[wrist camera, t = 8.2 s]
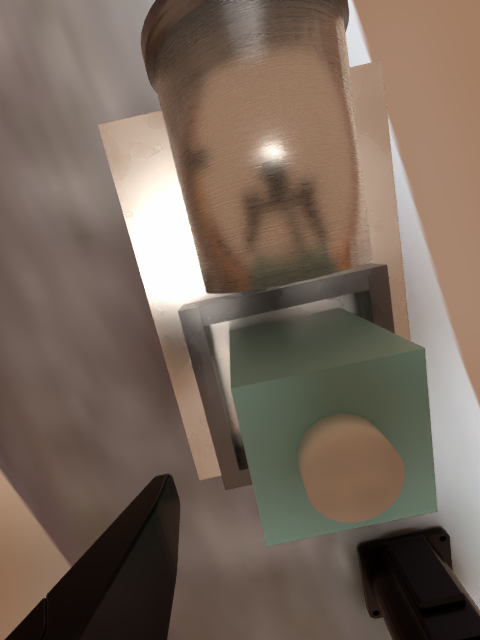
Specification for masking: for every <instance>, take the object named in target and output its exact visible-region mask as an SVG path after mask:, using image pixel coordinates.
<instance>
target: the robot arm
mask: <svg viewBox="0 0 480 640" xmlns="http://www.w3.org/2000/svg"><path fill="white" fill-rule="evenodd" d="M179 523H180V500H179V496H178V493H177V490H176V486H175V483H174V480H173V477H172V475H171V474H164V475H159V476H156V477H154V478H153V479H152V481H151V482H150V483H149V484H148V485H147V486H146V487H145V488H144V489H143V490H142V491H141V493H140V494H139V495H138V496H137V497H136V498H135V499H134V500H133V501H132V502H131V503H130V504H129V506H128V507H127V508H126V509H125V510H124V511H123V512H122V513H121V514H120V515H119V516H118V518H117V519H116V520H115V521H114V522H113V523H112V524H111V525H110V526H109V527H108V528H107V530H106V531H105V532H104V533H103V534H102V535H101V536H100V537H99V538H98V539H97V540H96V542H95V543H94V544H93V545H92V546H91V547H90V548H89V549H88V550H87V551H86V552H85V553H84V555H83V556H82V557H81V558H80V559H79V560H78V561H77V562H76V563H75V564H74V565H73V567H72V568H71V569H70V570H69V571H68V572H67V573H66V574H65V575H64V576H63V577H62V579H61V580H60V581H59V582H58V583H57V584H56V585H55V586H54V587H53V588H52V589H51V591H50V592H49V593H48V594H47V596H46V598H43V599H42V600H41V601H40V602H39V604H38V605H37V606H36V607H35V608H34V609H33V610H32V611H31V612H30V613H29V614H28V615H27V617H26V618H25V619H24V620H23V621H22V622H21V623H20V624H19V625H18V626H17V627H16V628H15V629H14V630H13V631H12V632H11V634H10V635H9V636H8V637H7V638H6V639H5V640H167V636H168V630H169V623H170V616H171V609H172V603H173V596H174V589H175V583H176V574H177V563H178V543H179ZM358 557H359V563H360V569H361V575H362V581H363V587H364V593H365V599H366V605H367V610H368V612H369V615H370V617H372V618H380V617H383V618H384V621H385V623H386V625H387V628H388V630H389V632H390V635H391V637H392V639H393V640H480V610H479V608H478V607H477V605H476V604H475V603H474V601H473V600H472V598H471V597H470V595H469V594H468V593H467V591H466V590H465V588H464V587H463V586H462V584H461V583H460V581H459V580H458V578H457V577H456V576H455V574H454V573H453V571H452V559H451V548H450V537H449V535H448V533H447V532H446V531H445V530H444V529H443V528H437V529H432V530H427V531H423V532H418V533H414V534H409V535H404V536H400V537H395V538H390V539H386V540H381V541H376V542H372V543H367V544H363V545H361V546H359V548H358Z"/></svg>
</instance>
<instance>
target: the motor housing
mask: <svg viewBox="0 0 480 640" xmlns="http://www.w3.org/2000/svg"><path fill="white" fill-rule="evenodd" d="M348 21H349V8H348V0H156V1H155V2H154V4H153V5H152V7H151V8H150V10H149V12H148V15H147V17H146V19H145V21H144V25H143V29H142V33H141V49H142V55H143V59H144V63H145V67H146V71H147V75H148V78H149V81H150V84H151V86H152V87H153V89H154V90H155V91H156V92H157V94H158V98H159V102H160V106H161V111H157V112H153V113H148V114H144V115H139V116H135V117H131V118H126V119H122V120H117V121H113V122H109V123H104V124H100V125H98V127H99V130H100V134H101V137H102V141H103V144H104V148H105V151H106V155H107V158H108V162H109V165H110V169H111V172H112V176H113V179H114V183H115V186H116V190H117V193H118V197H119V200H120V204H121V207H122V211H123V214H124V218H125V221H126V225H127V228H128V232H129V235H130V239H131V242H132V246H133V249H134V253H135V256H136V260H137V263H138V267H139V270H140V274H141V277H142V281H143V284H144V288H145V291H146V295H147V298H148V302H149V305H150V309H151V312H152V316H153V319H154V323H155V326H156V330H157V333H158V337H159V340H160V344H161V347H162V351H163V354H164V358H165V361H166V365H167V368H168V372H169V375H170V379H171V382H172V386H173V389H174V393H175V396H176V400H177V403H178V407H179V410H180V414H181V417H182V421H183V424H184V428H185V431H186V435H187V438H188V442H189V445H190V449H191V452H192V456H193V459H194V462H195V466H196V469H197V473H198V476H199V480H202V479H207V478H212V477H216V476H221V475H222V479H223V483H224V486H225V490H228V489H232V488H237V487H242V486H246V485H251V484H252V480H251V475H250V471H249V467H248V462H247V458H246V454H245V449H244V445H243V441H242V436H241V432H240V427H239V423H238V419H237V414H236V410H235V406H234V401H233V397H232V392H231V382H230V342H229V331H230V330H235V329H239V328H244V327H249V326H254V325H258V324H263V323H268V322H273V321H278V320H282V319H287V318H292V317H297V316H301V315H306V314H311V313H316V312H321V311H325V310H330V309H335V308H340V307H341V308H343V309H345V310H347V311H349V312H351V313H353V314H355V315H357V316H359V317H361V318H363V319H366V320H368V321H370V322H372V323H374V324H376V325H378V326H380V327H382V328H384V329H386V330H388V331H390V332H392V333H394V334H396V335H398V336H400V337H403V338H405V339H407V340H409V341H410V332H409V322H408V312H407V302H406V293H405V283H404V273H403V263H402V253H401V243H400V234H399V224H398V214H397V204H396V194H395V185H394V175H393V165H392V155H391V145H390V135H389V126H388V116H387V106H386V96H385V86H384V77H383V67H382V61H377V62H373V63H368V64H364V65H359V66H355V67H351V68H349V60H348V52H347V44H346V35H345V32H346V29H347V25H348Z"/></svg>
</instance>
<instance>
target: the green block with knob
mask: <svg viewBox="0 0 480 640" xmlns="http://www.w3.org/2000/svg"><path fill="white" fill-rule="evenodd" d="M229 342H230V382H231V392H232V397H233V401H234V406H235V410H236V414H237V419H238V423H239V427H240V432H241V436H242V441H243V445H244V449H245V454H246V458H247V462H248V467H249V471H250V475H251V480H252V484H253V489H254V493H255V497H256V502H257V506H258V510H259V515H260V519H261V524H262V528H263V532H264V537H265V541H266V545H267V547H268V546H273V545H277V544H282V543H287V542H292V541H297V540H302V539H307V538H311V537H316V536H321V535H326V534H331V533H336V532H341V531H345V530H350V529H355V528H360V527H365V526H370V525H375V524H379V523H384V522H389V521H394V520H399V519H404V518H409V517H413V516H418V515H423V514H428V513H433V512H438V511H437V498H436V486H435V473H434V460H433V447H432V435H431V422H430V409H429V397H428V384H427V371H426V359H425V348H423V347H421V346H419V345H417V344H415V343H413V342H411V341H409V340H407V339H405V338H403V337H400V336H398V335H396V334H394V333H392V332H390V331H388V330H386V329H384V328H382V327H380V326H378V325H376V324H374V323H372V322H370V321H368V320H366V319H363V318H361V317H359V316H357V315H355V314H353V313H351V312H349V311H347V310H345V309H343V308H341V307H340V308H335V309H330V310H325V311H321V312H316V313H311V314H306V315H301V316H297V317H292V318H287V319H282V320H278V321H273V322H268V323H263V324H258V325H254V326H249V327H244V328H239V329H235V330H230V331H229Z"/></svg>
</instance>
